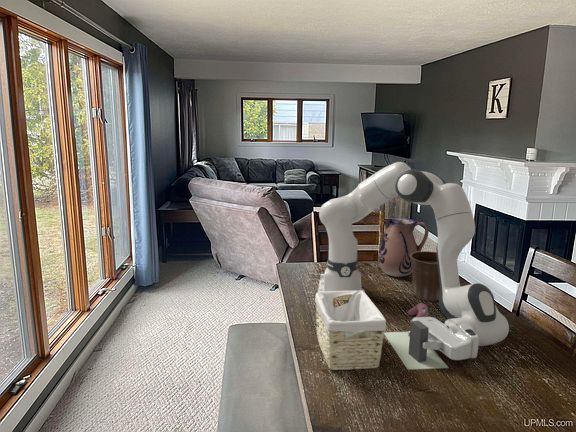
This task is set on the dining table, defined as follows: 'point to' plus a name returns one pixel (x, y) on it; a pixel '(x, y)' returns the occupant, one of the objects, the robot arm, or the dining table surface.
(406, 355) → the mat
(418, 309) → the video game controller
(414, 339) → the domino
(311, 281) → the dining table surface
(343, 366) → the storage basket
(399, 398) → the dining table surface
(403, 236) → the ceramic pitcher
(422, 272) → the plant pot
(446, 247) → the robot arm
